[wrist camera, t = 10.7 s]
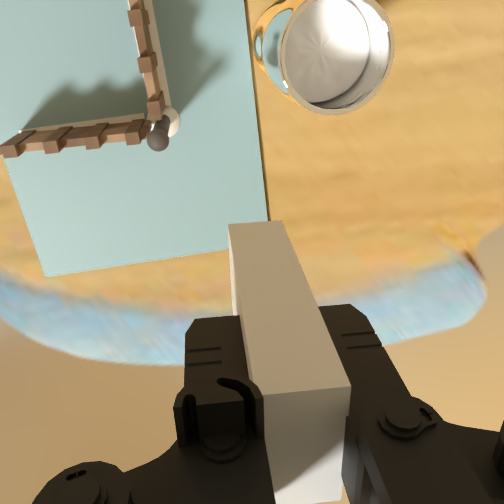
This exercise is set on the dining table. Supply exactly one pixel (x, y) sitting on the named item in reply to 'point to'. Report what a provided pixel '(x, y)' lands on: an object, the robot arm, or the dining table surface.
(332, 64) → the beer glass
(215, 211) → the board
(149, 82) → the fence fixed
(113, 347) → the dining table surface
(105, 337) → the dining table surface
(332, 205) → the dining table surface
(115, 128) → the fence panel
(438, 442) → the robot arm
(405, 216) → the dining table surface
